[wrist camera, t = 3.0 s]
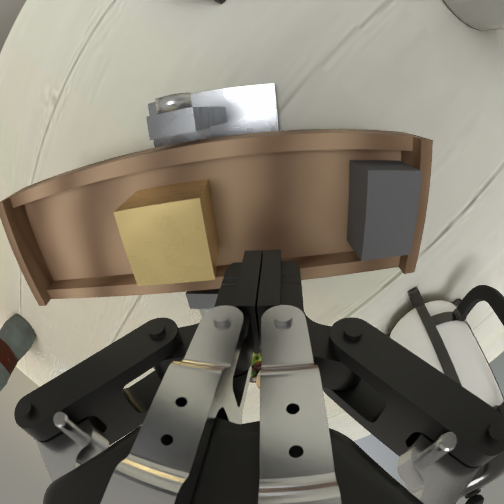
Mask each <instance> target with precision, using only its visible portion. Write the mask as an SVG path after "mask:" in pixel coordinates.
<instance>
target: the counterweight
mask: <svg viewBox="0 0 504 504" xmlns="http://www.w3.org/2000/svg"><path fill="white" fill-rule="evenodd" d="M421 177H422V171H421V170H419V169H417V168H414V167H412V166H410V165H408V164H405V163H403V162H401V161H395V160H349V204H348V225H347V242H348V243H349V244H350V246H351V247H352V249H353V250H354V251H355V253H356V254H357V256H358V257H359V259H360V260H361V261H365V260H373V259H381V258H388V257H396V256H403V255H410V253H411V248H412V243H413V238H414V232H415V226H416V219H417V213H418V205H419V197H420V188H421Z"/></svg>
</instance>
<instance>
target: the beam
mask: <svg viewBox="0 0 504 504" xmlns="http://www.w3.org/2000/svg"><path fill="white" fill-rule="evenodd" d="M432 144H433V140H430V139H427V138H423V137H419V136H416V135H412V134H408V133H404V132H395V131H379V130H354V129H314V130H288V131H273V132H260V133H249V134H240V135H231V136H223V137H215V138H208V139H202V140H195V141H189V142H184V143H178V144H173V145H167V146H162V147H157V148H153V149H148V150H144V151H139V152H135V153H131V154H127V155H123V156H119V157H115V158H111V159H108V160H104V161H100V162H97V163H94V164H90V165H87V166H84V167H80V168H77V169H74V170H71V171H68V172H65V173H62V174H59V175H56V176H54V177H51V178H48V179H45V180H43V181H40V182H38V183H35V184H32V185H30V186H27V187H25V188H23V189H21V190H19V191H18V192H16V193H14V194H12V195H11V196H9V197H7V198H6V199H4V200H2V201H1V202H0V218H1V221H2V224H3V227H4V229H5V232H6V235H7V238H8V240H9V243H10V245H11V248H12V250H13V253H14V255H15V257H16V260H17V262H18V264H19V266H20V269H21V271H22V273H23V275H24V277H25V279H26V281H27V283H28V285H29V287H30V289H31V291H32V293H33V295H34V297H35V299H36V300H37V302H38V304H39V306H46V305H47V303H48V302H49V301H50V299H62V298H89V297H110V296H128V295H144V294H158V293H172V292H185V291H197V290H209V289H220V287H221V283H222V280H223V277H224V274H225V271H226V269H227V268H228V267H229V266H230V265H231V264H232V263H237V262H242V261H243V257H244V252H245V251H248V250H263V251H264V250H276V249H281V257H282V261H295V262H296V264H297V265H298V266H299V267H300V275H301V280H305V279H313V278H321V277H329V276H337V275H345V274H352V273H359V272H366V271H373V270H380V269H387V268H394V267H399V268H400V269H401V271H402V272H403V273H404V274H406V273H412V272H414V271H415V267H416V263H417V258H418V254H419V249H420V244H421V239H422V234H423V228H424V223H425V216H426V210H427V203H428V195H429V186H430V176H431V163H432ZM349 160H395V161H401V162H403V163H405V164H408V165H410V166H412V167H414V168H417V169H419V170H421V171H422V177H421V188H420V197H419V205H418V213H417V219H416V226H415V232H414V238H413V243H412V248H411V253H410V255H403V256H396V257H388V258H381V259H373V260H365V261H361V260H360V259H359V257H358V256H357V254H356V253H355V251H354V250H353V249H352V247H351V246H350V244H349V243H348V242H347V225H348V204H349ZM204 179H208V181H209V187H210V194H211V200H212V206H213V212H214V219H215V225H216V231H217V236H218V242H219V254H218V261H217V269H216V277H215V280H207V281H196V282H185V283H173V284H161V285H148V286H138V285H137V282H136V280H135V277H134V274H133V271H132V269H131V266H130V263H129V260H128V257H127V254H126V251H125V248H124V245H123V242H122V239H121V236H120V233H119V229H118V226H117V223H116V219H115V216H114V211H115V210H116V209H117V208H118V207H120V206H121V205H122V204H123V203H124V202H125V201H126V200H127V199H128V198H129V197H130V196H132V195H133V194H134V193H135V192H136V191H138V190H143V189H148V188H154V187H160V186H165V185H171V184H177V183H184V182H190V181H197V180H204Z"/></svg>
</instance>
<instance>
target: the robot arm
mask: <svg viewBox="0 0 504 504" xmlns="http://www.w3.org/2000/svg"><path fill="white" fill-rule="evenodd" d="M444 2H445V3H446V5H447V6H448V7H449V8H450V9H451V10H452V12H453V13H454V14H455V15H456V16H457V17H458V18H460V19H461V20H462V21H463V22H465V23H466V24H468V25H469V26H471V27H473V28H475V29H478V30H489V29H495V30H497V29H504V0H444ZM260 350H261V362H262V366H261V369H260V421H257V422H252V423H246V424H242V412H243V407H244V403H245V398H246V394H247V389H248V385H249V380H250V376H251V371H252V367H251V364H252V358H253V353H260ZM152 367H153V368H154V369H155V371H153V372H152V373H150V374H149V375H147V376H146V377H144V378H143V379H141V380H140V381H138V382H137V383H135V384H134V385H132V386H131V387H129V388H126V389H123V388H124V386H125V385H126V384H128V383H129V382H131V381H132V380H134V379H136V378H137V377H139V376H140V375H142V374H143V373H145V372H146V371H148V370H149V369H151V368H152ZM323 391H324V392H325V393H326V394H327V395H328V396H329V397H330V398H331V399H332V400H333V401H334V402H335V403H337V404H338V405H339V406H340V407H341V408H342V409H343V410H345V411H346V412H347V413H348V414H349V415H350V416H351V417H353V418H354V419H355V420H356V421H357V422H358V423H360V424H361V425H362V426H363V427H364V428H365V429H367V430H368V431H369V432H370V433H371V434H373V435H374V436H375V437H376V438H377V439H379V440H380V441H381V442H382V443H383V444H385V445H386V446H387V447H389V448H390V449H391V450H392V451H393V452H395V453H396V454H397V455H399V456H400V458H399V461H398V466H397V469H398V473H399V476H400V477H401V478H402V480H403V481H404V482H405V483H406V485H407V488H408V490H407V489H406V488H405V487H403V486H402V485H401V484H400V483H399V482H397V481H396V480H395V479H394V478H392V476H390V475H389V474H388V473H387V472H386V471H385V470H384V469H383V468H382V467H380V466H379V465H378V464H377V463H376V462H375V461H374V460H373V459H372V458H371V457H369V456H368V455H367V454H366V453H365V452H364V451H363V450H362V449H361V448H360V447H359V446H358V445H357V444H356V443H355V442H353V441H352V440H351V439H350V438H348V437H347V436H345V435H343V434H342V433H340V432H338V431H335V430H333V429H330V428H329V426H328V420H327V413H326V407H325V401H324V395H323ZM15 420H16V423H17V424H18V425H19V426H20V427H21V428H22V429H24V430H25V431H26V432H27V433H28V434H30V435H31V436H32V437H33V438H34V439H35V440H36V441H37V443H38V446H39V449H40V452H41V455H42V457H43V460H44V463H45V465H46V467H47V470H48V472H49V475H50V477H51V479H52V481H53V482H52V484H50V485H49V487H48V488H47V490H46V492H45V495H44V500H43V504H455V503H456V502H457V501H458V499H459V498H460V497H461V495H462V494H463V492H464V491H465V489H466V488H467V487H468V485H469V484H470V482H471V480H472V479H473V477H474V476H475V474H476V473H477V471H478V469H479V468H480V467H481V466H482V465H483V464H485V463H487V462H488V461H490V460H491V459H493V458H494V457H496V456H497V455H498V454H500V453H501V452H502V451H504V415H503V414H502V413H501V412H499V411H498V410H496V409H495V408H493V407H492V406H490V405H489V404H487V403H486V402H484V401H483V400H482V399H480V398H479V397H477V396H476V395H474V394H473V393H471V392H470V391H468V390H467V389H465V388H464V387H462V386H461V385H460V384H458V383H457V382H455V381H454V380H452V379H451V378H449V377H448V376H446V375H445V374H443V373H442V372H440V371H439V370H437V369H436V368H434V367H433V366H431V365H430V364H429V363H427V362H426V361H424V360H423V359H421V358H420V357H418V356H417V355H415V354H414V353H412V352H411V351H409V350H408V349H406V348H405V347H403V346H402V345H400V344H399V343H397V342H396V341H394V340H393V339H391V338H390V337H388V336H387V335H385V334H384V333H382V332H381V331H379V330H378V329H376V328H375V327H373V326H372V325H370V324H369V323H367V322H366V321H364V320H362V319H358V318H344V319H341V320H339V321H337V322H336V323H334V324H333V326H332V327H331V326H326V325H321V324H318V323H315V322H313V321H312V320H310V319H309V318H308V317H307V316H306V314H305V312H304V309H303V297H302V286H301V275H300V267H299V266H298V265H297V264H296V262H295V261H282V257H281V249H276V250H264V251H263V250H248V251H245V252H244V257H243V261H242V262H237V263H232V264H231V265H230V266H229V267H228V268H227V269H226V271H225V274H224V277H223V280H222V283H221V287H220V290H219V293H218V296H217V300H216V303H215V306H214V308H212V309H210V310H208V311H207V312H206V313H205V314H204V315H203V317H202V319H201V321H200V323H198V324H195V325H191V326H186V327H181V328H178V327H177V325H176V323H175V322H174V321H173V320H171V319H168V318H156V319H153V320H150V321H148V322H147V323H145V324H143V325H142V326H140V327H139V328H137V329H135V330H134V331H132V332H130V333H129V334H127V335H125V336H124V337H122V338H120V339H119V340H117V341H115V342H114V343H112V344H111V345H109V346H107V347H106V348H104V349H102V350H101V351H99V352H97V353H96V354H94V355H92V356H91V357H89V358H87V359H86V360H84V361H82V362H81V363H79V364H77V365H76V366H74V367H72V368H71V369H69V370H67V371H66V372H64V373H62V374H61V375H59V376H57V377H56V378H54V379H52V380H51V381H49V382H47V383H46V384H44V385H42V386H41V387H39V388H37V389H36V390H34V391H32V392H31V393H29V394H27V395H26V396H24V397H23V398H22V399H20V401H19V402H18V404H17V406H16V408H15ZM140 425H141V426H140ZM137 427H138V428H137ZM134 429H135V430H134ZM131 431H132V432H131ZM128 433H129V434H128ZM127 434H128V435H127ZM125 435H126V436H125ZM123 436H125V437H123ZM122 437H123V438H122ZM120 438H122V439H120ZM119 439H120V440H119ZM117 440H119V441H117ZM115 441H117V442H116V443H114V442H115ZM112 443H114V444H113V445H112V446H110V447H109V445H111V444H112Z"/></svg>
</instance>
